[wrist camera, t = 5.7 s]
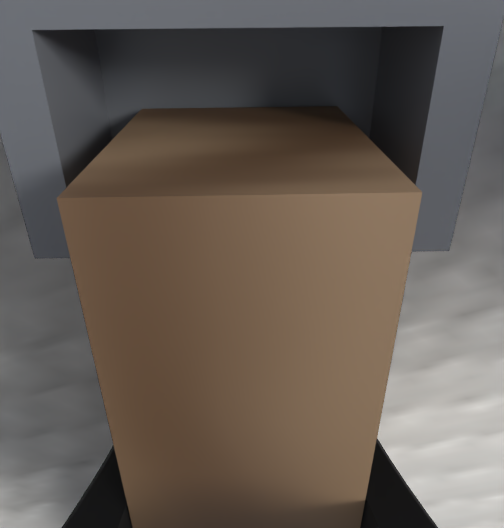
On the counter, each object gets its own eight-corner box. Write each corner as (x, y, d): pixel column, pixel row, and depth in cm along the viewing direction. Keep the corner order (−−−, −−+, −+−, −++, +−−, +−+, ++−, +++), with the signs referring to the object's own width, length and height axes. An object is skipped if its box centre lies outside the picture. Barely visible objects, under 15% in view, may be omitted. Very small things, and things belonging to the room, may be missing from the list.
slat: (337, 106, 9) (422, 192, 5) (303, 515, 16) (327, 701, 12) (142, 108, 9) (56, 197, 5) (191, 518, 16) (174, 707, 12)
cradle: (432, -40, 9) (538, -65, 6) (343, 528, 18) (365, 636, 15) (40, -37, 9) (-70, -60, 6) (153, 534, 18) (135, 644, 15)
